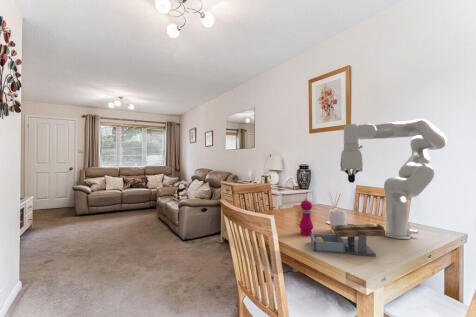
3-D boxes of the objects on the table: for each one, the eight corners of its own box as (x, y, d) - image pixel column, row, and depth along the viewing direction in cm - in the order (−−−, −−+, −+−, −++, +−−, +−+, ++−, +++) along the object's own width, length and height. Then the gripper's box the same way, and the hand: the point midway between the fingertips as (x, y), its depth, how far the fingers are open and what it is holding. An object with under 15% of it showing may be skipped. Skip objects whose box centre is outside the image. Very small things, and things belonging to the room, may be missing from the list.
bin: (338, 244, 110) (338, 234, 110) (345, 254, 98) (345, 243, 98) (310, 242, 113) (310, 232, 113) (314, 251, 101) (314, 241, 101)
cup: (343, 229, 133) (343, 209, 133) (348, 234, 124) (349, 212, 124) (327, 229, 134) (327, 209, 134) (331, 234, 125) (331, 212, 125)
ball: (319, 245, 107) (324, 238, 107) (321, 249, 103) (325, 241, 103) (312, 241, 108) (316, 234, 108) (313, 244, 104) (318, 236, 104)
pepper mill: (297, 232, 128) (297, 196, 128) (309, 232, 128) (310, 196, 129) (302, 236, 121) (302, 199, 121) (315, 236, 121) (315, 198, 121)
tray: (372, 226, 111) (371, 219, 111) (385, 236, 97) (385, 227, 97) (331, 227, 115) (330, 220, 115) (338, 237, 100) (337, 229, 101)
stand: (361, 241, 114) (361, 224, 114) (375, 256, 96) (375, 236, 96) (339, 240, 116) (339, 223, 116) (350, 254, 98) (350, 234, 98)
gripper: (364, 148, 123) (364, 182, 123) (334, 148, 126) (334, 181, 126) (369, 147, 115) (369, 183, 115) (338, 147, 118) (338, 182, 118)
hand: (351, 182), depth 120 cm, fingers closed
